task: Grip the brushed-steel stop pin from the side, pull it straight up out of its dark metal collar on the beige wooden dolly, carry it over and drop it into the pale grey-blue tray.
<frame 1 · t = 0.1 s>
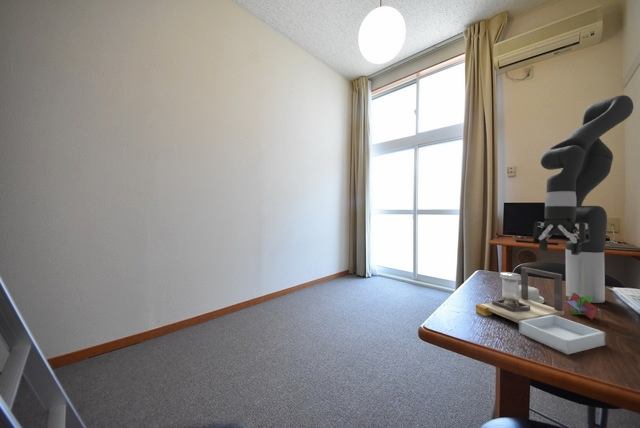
hand: (558, 252, 80), 17 cm above the table, tool pointing down, fingers open, 8 cm apart
tray: (559, 338, 59), on the table
mechanical component: (525, 300, 85), on the table
stop pin: (510, 306, 72), point 2 cm above the table, touching dolly
dolly: (520, 315, 71), on the table
geometric puzzle: (582, 316, 70), on the table
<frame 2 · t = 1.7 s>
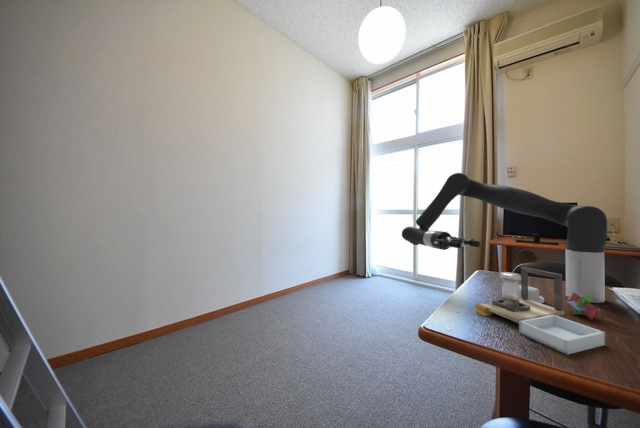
hand: (470, 244, 85), 20 cm above the table, tool horizontal, fingers open, 8 cm apart
nothing on the table moved.
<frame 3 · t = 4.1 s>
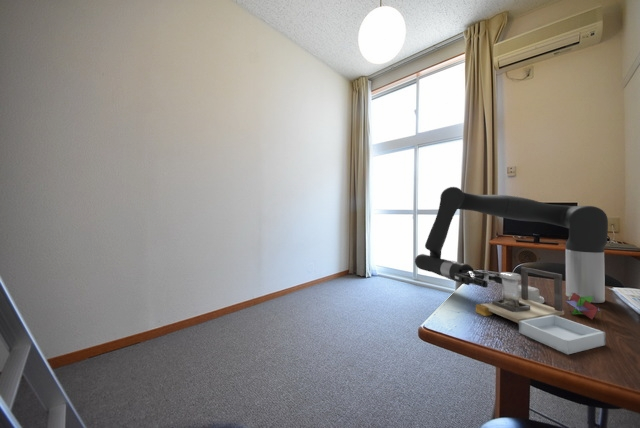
hand: (497, 283, 76), 8 cm above the table, tool horizontal, fingers open, 8 cm apart
nothing on the table moved.
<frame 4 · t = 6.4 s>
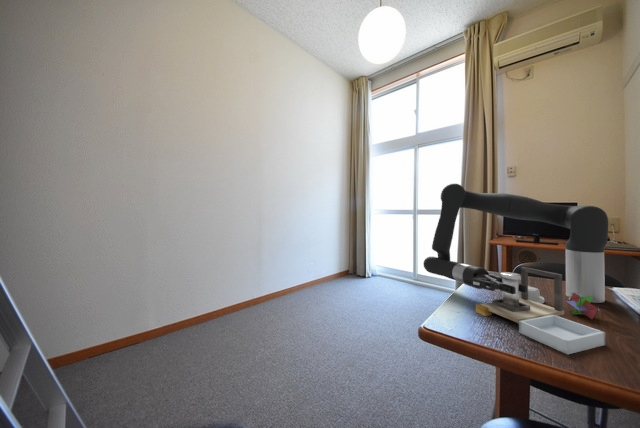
hand: (520, 289, 69), 8 cm above the table, tool horizontal, fingers closed on stop pin, 4 cm apart
stop pin: (510, 306, 72), point 3 cm above the table, touching dolly, gripper
everything else where it was.
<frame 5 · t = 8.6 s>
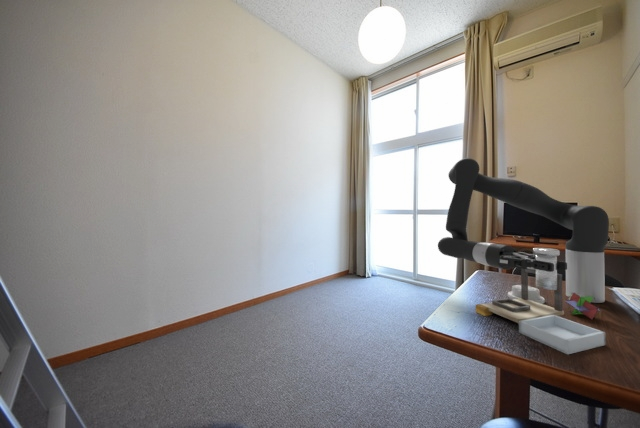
hand: (559, 266, 58), 18 cm above the table, tool horizontal, fingers closed on stop pin, 4 cm apart
stop pin: (546, 287, 61), point 12 cm above the table, touching gripper
everything else where it was.
when the fingers open (10 cm above the table, at t = 11.2 s): stop pin moves 3 cm, point 2 cm above the table.
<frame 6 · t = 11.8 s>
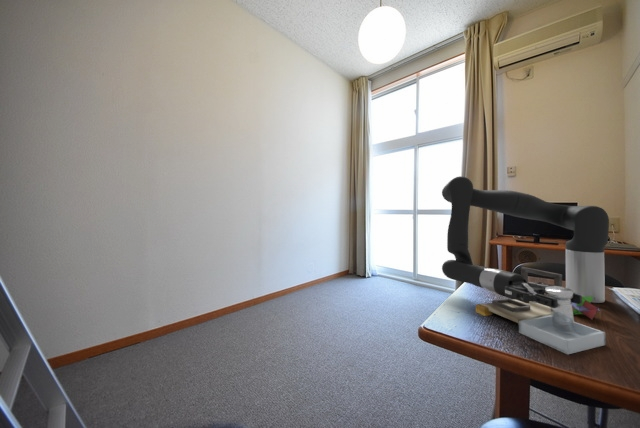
hand: (569, 301, 57), 10 cm above the table, tool horizontal, fingers open, 8 cm apart
stop pin: (563, 327, 60), point 2 cm above the table, tilted 11°, touching gripper
everything else where it was.
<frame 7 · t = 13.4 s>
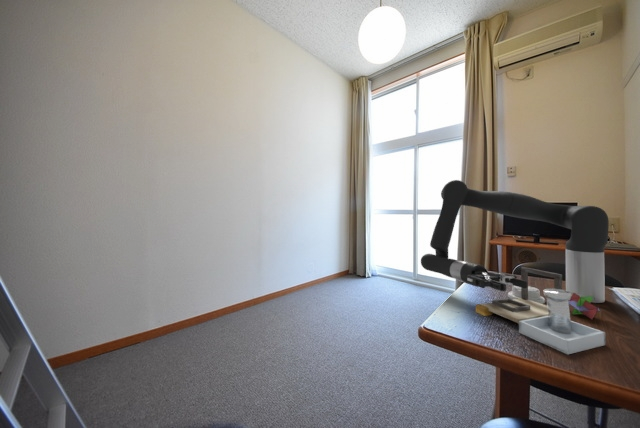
hand: (516, 286, 68), 10 cm above the table, tool horizontal, fingers open, 8 cm apart
stop pin: (560, 329, 61), point 1 cm above the table, tilted 6°, touching tray
everything else where it was.
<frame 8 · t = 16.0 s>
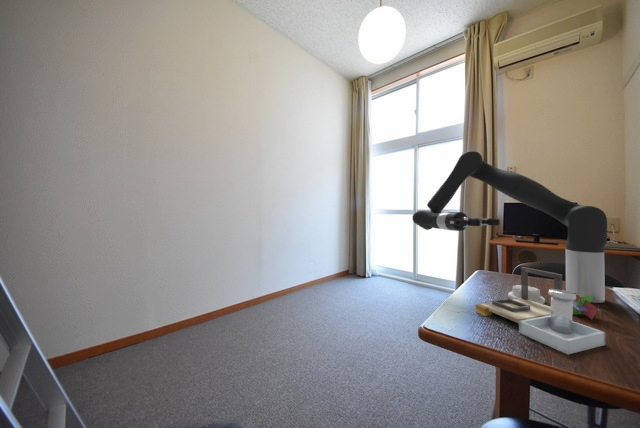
hand: (489, 222, 80), 28 cm above the table, tool horizontal, fingers open, 8 cm apart
at the end: stop pin inside the target area (4.0 cm from its centre), point 0.7 cm above the table; the gripper is holding nothing; stop pin moved 11.9 cm from its start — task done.
